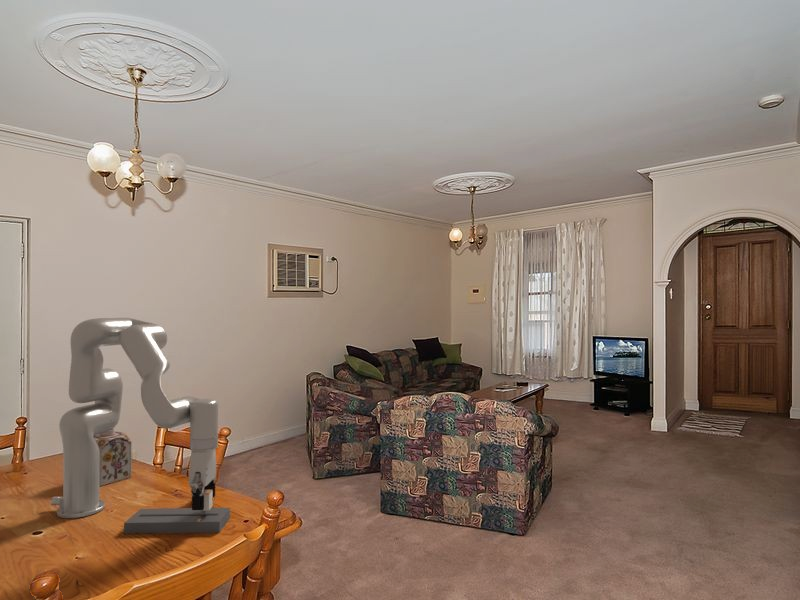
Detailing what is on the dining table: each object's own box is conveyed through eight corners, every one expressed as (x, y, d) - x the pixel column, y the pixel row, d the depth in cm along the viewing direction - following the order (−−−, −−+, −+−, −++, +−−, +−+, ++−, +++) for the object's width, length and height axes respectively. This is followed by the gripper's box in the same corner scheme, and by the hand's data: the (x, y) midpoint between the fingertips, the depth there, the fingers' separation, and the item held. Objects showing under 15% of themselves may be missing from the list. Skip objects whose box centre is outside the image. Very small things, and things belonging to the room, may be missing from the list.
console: (124, 533, 144) (124, 522, 144) (140, 519, 154) (140, 508, 154) (219, 532, 145) (219, 520, 145) (230, 517, 155) (230, 506, 155)
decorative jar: (82, 481, 187) (82, 430, 187) (114, 472, 197) (114, 424, 197) (100, 487, 181) (100, 435, 181) (132, 477, 191) (132, 428, 191)
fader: (194, 515, 148) (194, 493, 148) (198, 511, 151) (198, 489, 151) (209, 515, 148) (209, 493, 148) (212, 511, 151) (212, 489, 151)
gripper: (201, 435, 158) (201, 492, 158) (179, 451, 141) (178, 515, 141) (226, 435, 159) (226, 492, 159) (207, 451, 141) (207, 515, 141)
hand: (203, 503), depth 150 cm, fingers open, 9 cm apart
